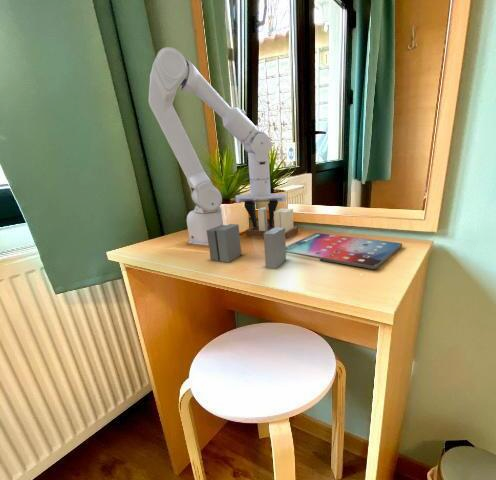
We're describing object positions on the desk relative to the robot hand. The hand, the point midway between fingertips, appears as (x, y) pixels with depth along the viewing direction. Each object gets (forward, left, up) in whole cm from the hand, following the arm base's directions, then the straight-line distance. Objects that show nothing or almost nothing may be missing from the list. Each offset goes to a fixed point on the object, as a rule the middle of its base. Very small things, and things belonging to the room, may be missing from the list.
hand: (263, 226), depth 91 cm
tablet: (+26, -8, -2) cm, 27 cm away
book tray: (+3, 0, -2) cm, 4 cm away
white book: (0, 0, -2) cm, 2 cm away
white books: (+7, 0, -2) cm, 7 cm away
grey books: (+8, -22, -2) cm, 23 cm away
